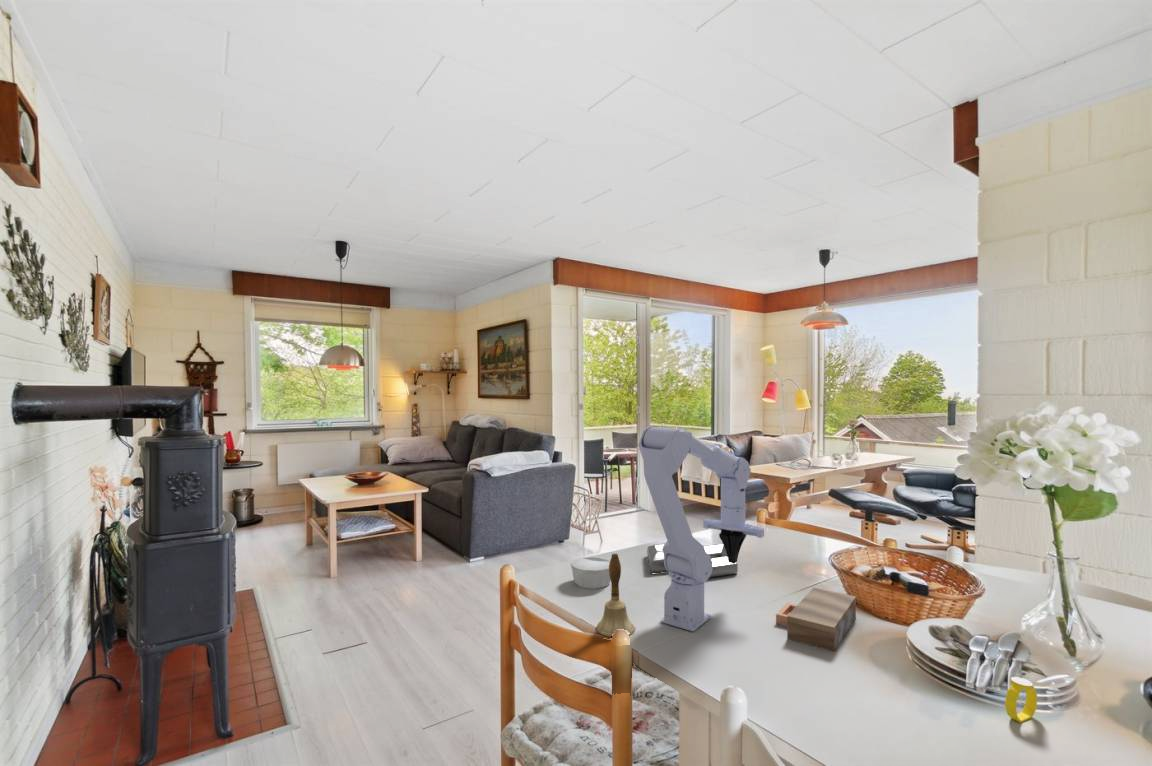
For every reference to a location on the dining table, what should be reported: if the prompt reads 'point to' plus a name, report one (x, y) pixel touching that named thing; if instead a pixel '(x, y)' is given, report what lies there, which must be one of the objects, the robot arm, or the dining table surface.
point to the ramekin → (591, 572)
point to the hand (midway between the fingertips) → (732, 562)
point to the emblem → (714, 551)
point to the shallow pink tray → (784, 613)
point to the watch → (1013, 696)
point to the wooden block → (821, 618)
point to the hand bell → (614, 605)
